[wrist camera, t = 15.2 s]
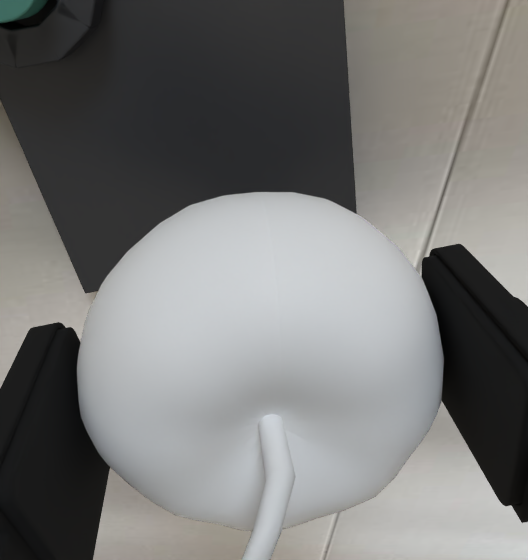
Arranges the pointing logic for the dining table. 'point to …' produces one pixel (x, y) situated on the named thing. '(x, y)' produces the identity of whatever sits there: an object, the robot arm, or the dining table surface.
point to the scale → (174, 111)
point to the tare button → (19, 9)
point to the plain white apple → (260, 363)
